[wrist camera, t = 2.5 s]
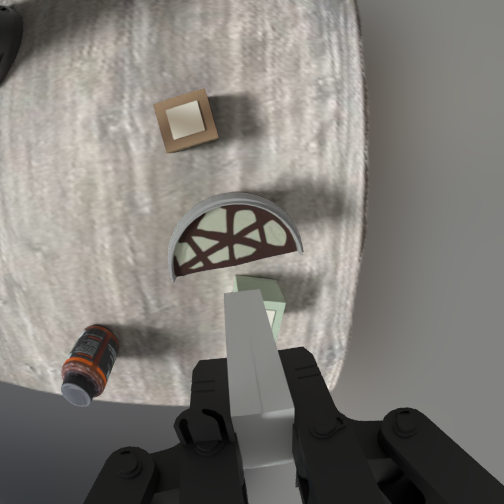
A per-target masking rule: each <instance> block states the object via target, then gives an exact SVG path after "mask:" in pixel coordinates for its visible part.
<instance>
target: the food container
mask: <svg viewBox="0 0 504 504" xmlns="http://www.w3.org/2000/svg"><path fill="white" fill-rule="evenodd" d="M295 251H297V252H298V253H300V254H301V255H303V254H302V252H303V246H302V242H301V238H300V235H299V233H298V230H297V228H296V226H295V224H294V223H293V221H292V220H291V218H290V217H289V216H288V215H287V214H286V213H285V211H284V210H282V209H281V208H280V207H279V206H277V205H276V204H275V203H273V202H271V201H269V200H268V199H266V198H263V197H260V196H258V195H254V194H249V193H242V192H231V193H223V194H219V195H216V196H212V197H210V198H208V199H206V200H203V201H201V202H200V203H198V204H197V205H195V206H194V207H193V208H191V209H190V210H189V211H188V212H187V213H186V214H185V215H184V216H183V217H182V219H181V220H180V221H179V223H178V224H177V226H176V228H175V230H174V232H173V234H172V237H171V240H170V244H169V250H168V267H169V273H170V278H171V280H172V281H173V283H174V281H175V279H176V277H178V276H184V275H187V274H191V273H195V272H200V271H205V270H211V269H217V268H224V267H230V266H236V265H240V264H244V263H248V262H251V261H255V260H259V259H263V258H267V257H272V256H276V255H281V254H285V253H290V252H295Z"/></svg>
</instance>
